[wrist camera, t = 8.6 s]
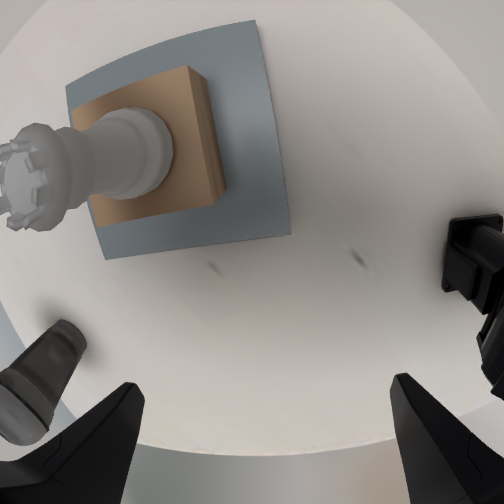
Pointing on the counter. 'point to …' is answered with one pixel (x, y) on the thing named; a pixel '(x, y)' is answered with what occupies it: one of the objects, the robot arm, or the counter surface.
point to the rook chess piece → (81, 166)
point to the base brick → (183, 143)
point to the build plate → (228, 134)
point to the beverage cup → (38, 383)
